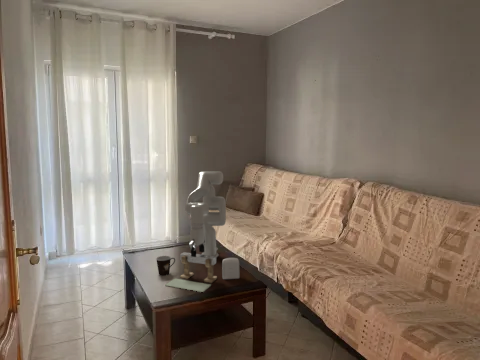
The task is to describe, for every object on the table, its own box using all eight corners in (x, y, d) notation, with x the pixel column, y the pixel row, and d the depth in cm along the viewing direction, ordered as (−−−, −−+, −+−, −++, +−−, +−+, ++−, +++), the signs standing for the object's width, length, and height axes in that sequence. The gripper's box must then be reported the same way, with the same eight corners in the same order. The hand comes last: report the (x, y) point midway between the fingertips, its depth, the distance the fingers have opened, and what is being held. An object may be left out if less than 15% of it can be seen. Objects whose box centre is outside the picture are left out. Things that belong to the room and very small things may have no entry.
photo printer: (222, 279, 210) (222, 259, 209) (222, 277, 214) (221, 257, 213) (239, 279, 211) (239, 258, 210) (239, 276, 215) (238, 256, 214)
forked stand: (186, 273, 221) (185, 252, 219) (217, 278, 213) (216, 256, 211) (180, 277, 214) (179, 256, 212) (211, 282, 206) (211, 260, 204)
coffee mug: (157, 277, 215) (156, 261, 214) (156, 272, 223) (156, 256, 222) (176, 275, 218) (176, 259, 217) (175, 270, 226) (174, 254, 225)
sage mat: (175, 279, 212) (175, 278, 211) (211, 285, 202) (211, 284, 202) (165, 285, 202) (165, 284, 202) (202, 292, 193) (202, 291, 193)
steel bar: (184, 258, 218) (183, 252, 218) (216, 263, 210) (216, 256, 209) (180, 260, 214) (180, 254, 214) (213, 265, 206) (213, 258, 206)
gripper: (198, 222, 219) (199, 249, 220) (183, 228, 203) (184, 257, 204) (209, 223, 216) (210, 250, 217) (195, 229, 200) (196, 259, 202)
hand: (197, 254), depth 211 cm, fingers open, 9 cm apart
